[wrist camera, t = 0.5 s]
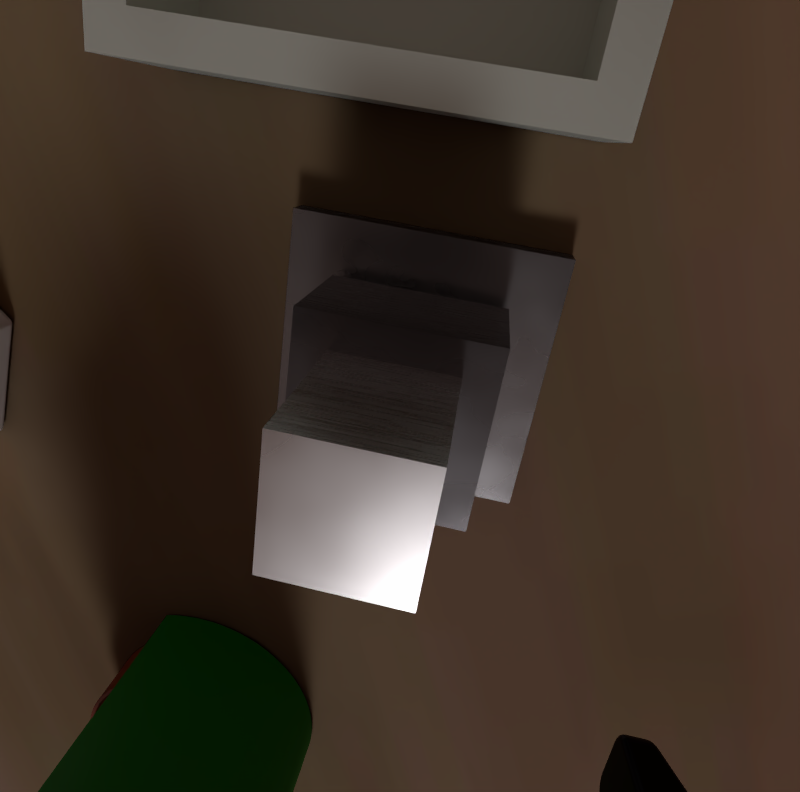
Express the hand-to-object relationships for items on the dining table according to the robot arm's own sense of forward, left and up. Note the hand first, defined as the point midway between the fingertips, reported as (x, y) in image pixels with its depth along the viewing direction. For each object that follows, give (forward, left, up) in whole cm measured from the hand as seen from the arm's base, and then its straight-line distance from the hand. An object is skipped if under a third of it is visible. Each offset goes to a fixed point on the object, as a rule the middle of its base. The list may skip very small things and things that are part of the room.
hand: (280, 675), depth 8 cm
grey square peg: (0, 0, -11) cm, 11 cm away
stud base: (0, 0, -12) cm, 12 cm away
